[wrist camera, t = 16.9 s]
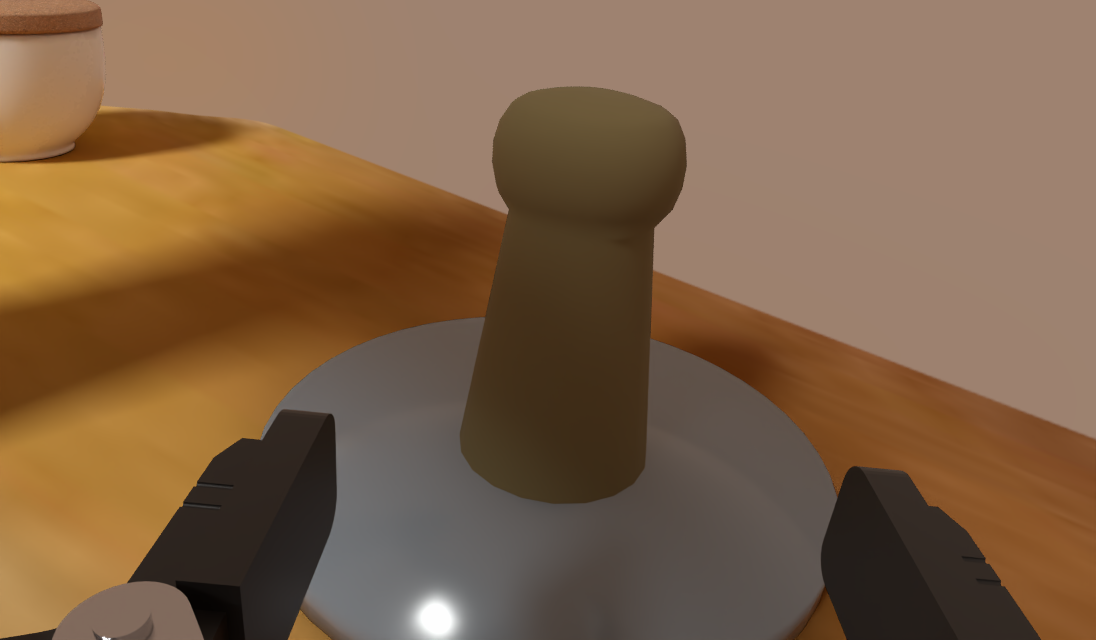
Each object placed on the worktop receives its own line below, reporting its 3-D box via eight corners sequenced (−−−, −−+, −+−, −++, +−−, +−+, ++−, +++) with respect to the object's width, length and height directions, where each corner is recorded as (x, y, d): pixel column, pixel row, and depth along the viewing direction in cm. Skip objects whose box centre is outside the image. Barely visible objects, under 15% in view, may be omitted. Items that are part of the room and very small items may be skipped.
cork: (468, 385, 27) (489, 64, 22) (636, 400, 28) (693, 86, 23) (448, 495, 22) (470, 101, 17) (658, 512, 22) (738, 129, 17)
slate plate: (111, 526, 21) (105, 491, 21) (461, 304, 36) (462, 281, 35) (760, 877, 15) (775, 840, 14) (859, 430, 29) (868, 404, 29)
